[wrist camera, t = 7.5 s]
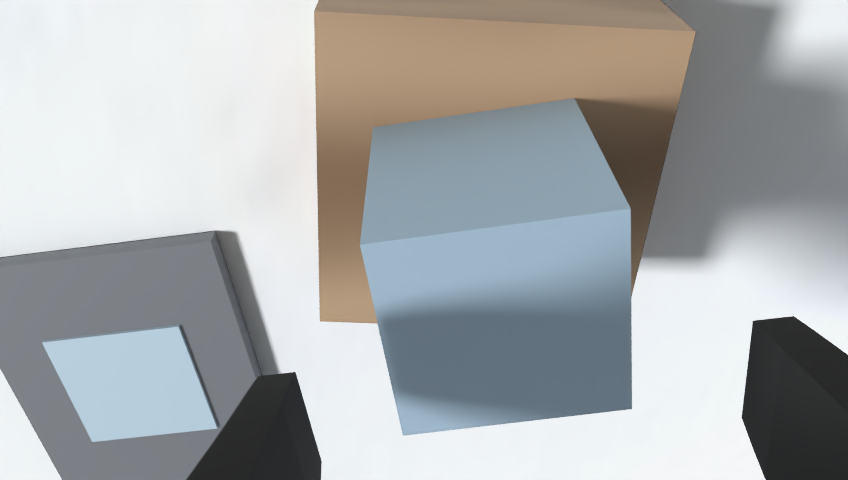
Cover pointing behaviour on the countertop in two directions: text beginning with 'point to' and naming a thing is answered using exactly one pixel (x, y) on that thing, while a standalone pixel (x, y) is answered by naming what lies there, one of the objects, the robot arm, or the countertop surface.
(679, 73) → the base block
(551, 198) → the slate block
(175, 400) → the card
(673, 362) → the countertop surface
